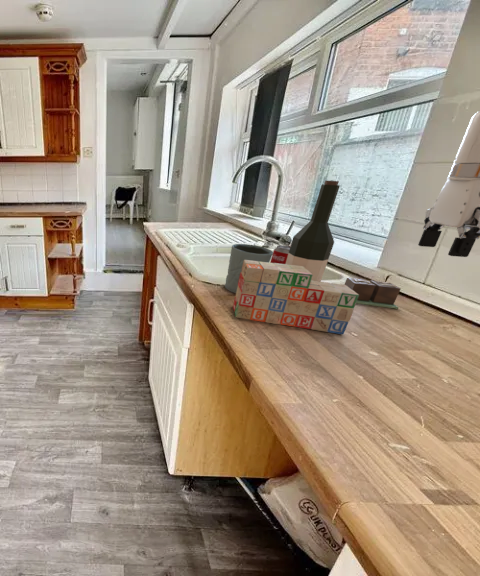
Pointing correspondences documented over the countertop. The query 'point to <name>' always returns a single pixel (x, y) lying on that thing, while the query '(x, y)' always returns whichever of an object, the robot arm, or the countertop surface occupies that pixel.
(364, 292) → the dark brown cube
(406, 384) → the countertop surface
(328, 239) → the wine bottle
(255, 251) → the grey cylindrical pot
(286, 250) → the beverage can
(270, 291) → the stack of blocks
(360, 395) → the countertop surface
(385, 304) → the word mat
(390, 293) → the dark brown wooden box
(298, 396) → the countertop surface
